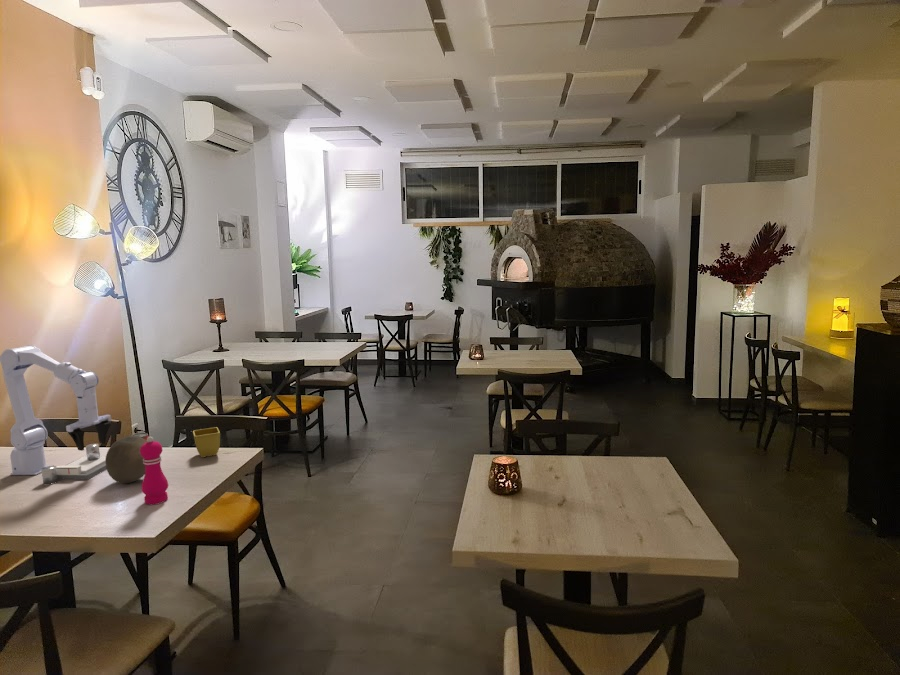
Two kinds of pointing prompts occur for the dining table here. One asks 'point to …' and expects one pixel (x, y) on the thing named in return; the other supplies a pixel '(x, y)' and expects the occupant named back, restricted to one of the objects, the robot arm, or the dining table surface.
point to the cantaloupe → (126, 459)
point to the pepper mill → (153, 473)
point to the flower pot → (207, 441)
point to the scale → (81, 469)
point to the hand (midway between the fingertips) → (91, 446)
